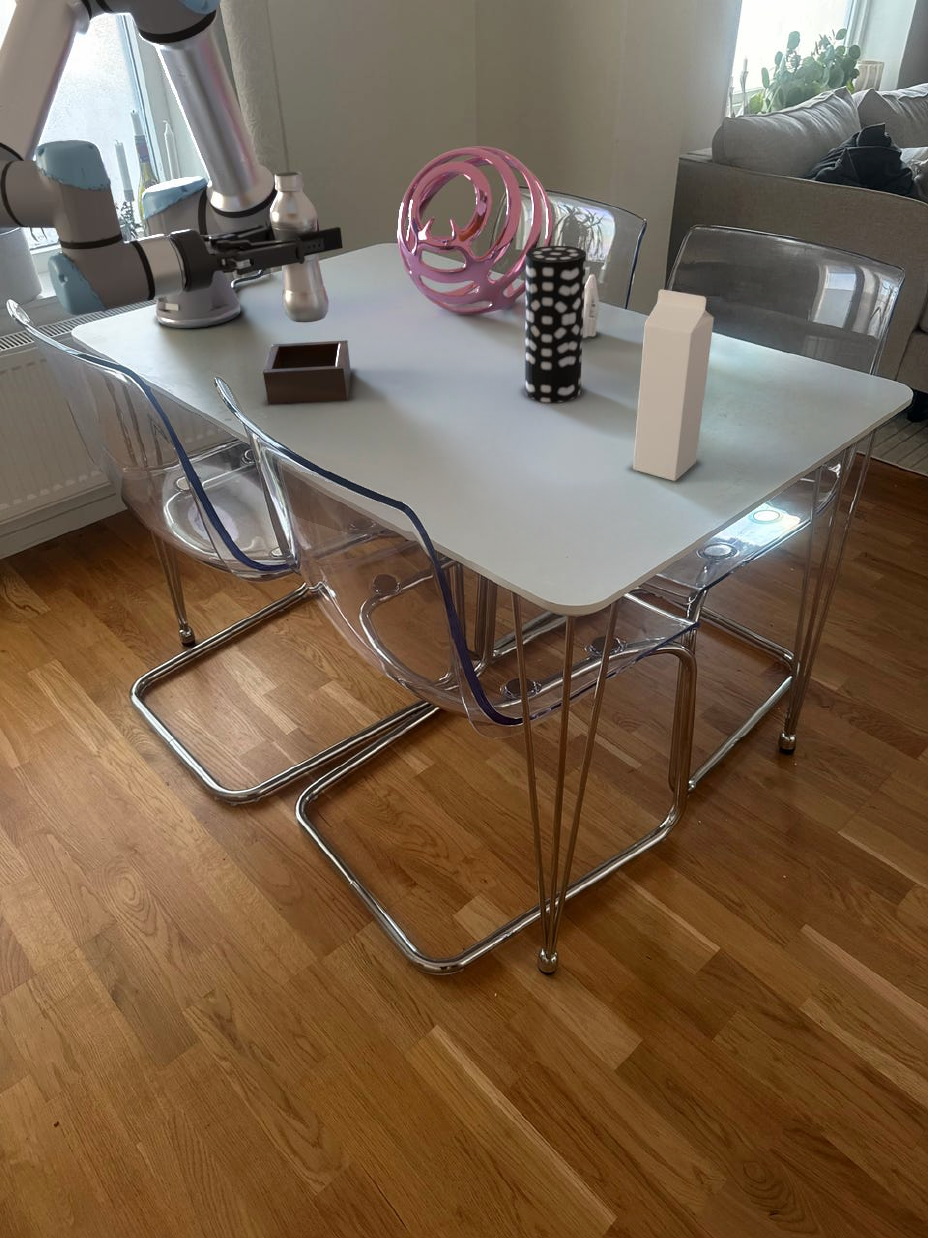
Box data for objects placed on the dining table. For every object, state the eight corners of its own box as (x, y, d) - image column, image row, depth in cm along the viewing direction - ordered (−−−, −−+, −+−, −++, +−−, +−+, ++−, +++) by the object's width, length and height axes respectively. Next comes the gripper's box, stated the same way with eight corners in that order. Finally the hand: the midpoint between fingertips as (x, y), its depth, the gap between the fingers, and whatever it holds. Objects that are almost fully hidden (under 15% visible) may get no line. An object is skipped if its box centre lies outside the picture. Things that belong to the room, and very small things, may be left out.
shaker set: (556, 353, 151) (558, 284, 145) (538, 347, 154) (539, 279, 147) (604, 334, 158) (608, 267, 151) (585, 328, 160) (588, 263, 153)
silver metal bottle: (322, 328, 134) (303, 179, 122) (278, 326, 135) (256, 178, 123) (336, 313, 139) (319, 168, 127) (294, 312, 140) (273, 168, 128)
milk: (654, 452, 121) (670, 281, 108) (696, 463, 118) (718, 289, 105) (632, 470, 118) (645, 295, 105) (675, 482, 114) (695, 303, 101)
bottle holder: (276, 374, 148) (271, 344, 145) (350, 370, 148) (347, 340, 145) (268, 404, 138) (262, 372, 136) (347, 400, 139) (343, 368, 136)
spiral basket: (478, 165, 179) (417, 92, 154) (599, 217, 170) (555, 149, 145) (412, 299, 185) (344, 249, 160) (526, 356, 176) (472, 314, 151)
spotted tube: (585, 383, 141) (592, 247, 129) (573, 405, 134) (578, 263, 122) (533, 378, 143) (534, 244, 131) (518, 399, 137) (518, 260, 125)
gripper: (156, 276, 131) (302, 246, 141) (208, 310, 118) (364, 274, 128) (143, 220, 126) (295, 193, 136) (196, 249, 113) (359, 216, 123)
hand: (328, 232), depth 132 cm, fingers closed on silver metal bottle, 6 cm apart
